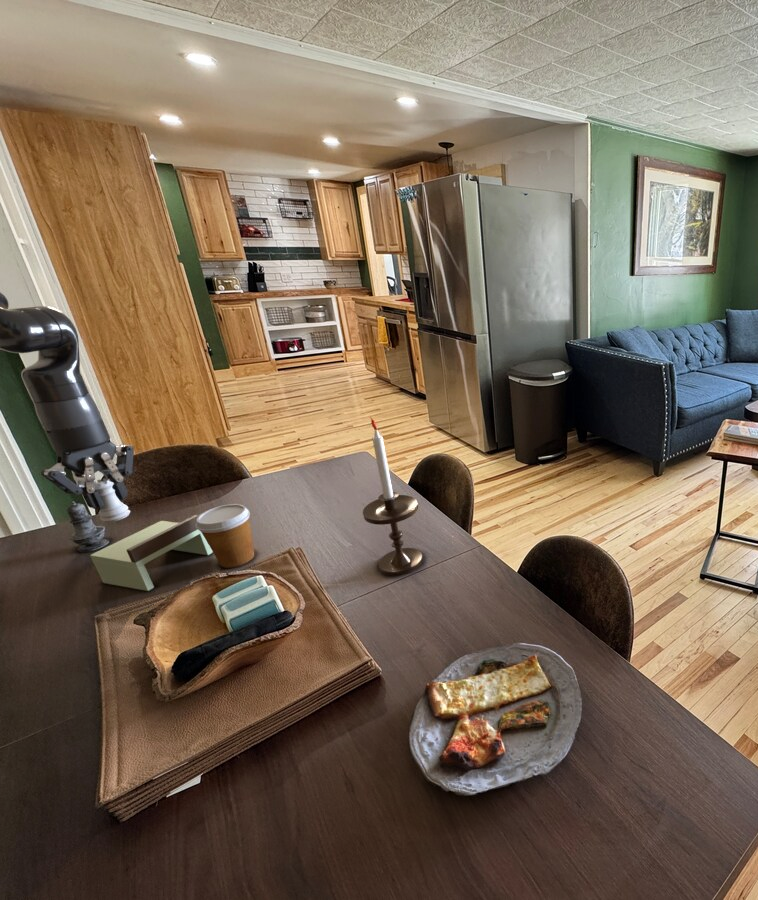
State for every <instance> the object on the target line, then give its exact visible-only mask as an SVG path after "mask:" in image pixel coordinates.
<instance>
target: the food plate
mask: <svg viewBox="0 0 758 900" xmlns="http://www.w3.org/2000/svg"><path fill="white" fill-rule="evenodd" d="M582 710H583V698H582V692H581V689H580V686H579V683H578V679H577V676H576V672H575V670H574V668H573V667H572V666H571V665H570V663H568V662H567V661H566V660H564V658H563V657H562V656H561V655H560V654H557V652H555V651H554V650H552V649H551V648H548V647H545V646H542V645H539V644H534V643H533V644H529V643H524V642H517V641H515V642H509V643H504V644H500V645H496V646H492V647H488V648H484V649H481V650H477V651H474V652H471V653H467V654H465V655H463V656H461V657H459V658H457V659H456V660H454V661H452V662H451V663H450V664H449V665H448V666H446V667H445V668H444V669H443V670H442V671H441V672H440V673H439V674H438V675H436V677H435V678H434V679H432V680H430V681H429V683H426V684H425V688H424V691H423V693H422V694H421V697H420V698H419V699H418V701H417V703H416V704H415V706H414V711H413V713H412V715H411V720H410V725H409V729H408V737H407V738H408V739H407V740H408V742H407V744H408V752H409V755H410V756H411V759H412V761H413V762H414V764H415V765H416V766H417V768H418V769H419V771H420V773H421V775H422V778H423V780H425V781H426V782H428V784H429V785H431V786H434V787H435V790H438V787H439V788H440V789H441V791H444V792H450V791H451V792H453V793H454V795H455V796H460V797H462V796H465V797H467V796H475V795H476V796H478V793H480V794H481V793H485V792H487V791H492V790H496V789H499V788H502V787H507V786H510V785H511V784H514V783H520V782H524V781H525V780H527V779H530V778H533V777H534V776H543V775H547V774H548V773H550V772H551V771H552V770H553V769H555V768H556V766H557V765H559V764H560V763H561V762H562V760H563V759H564V758H565V757H566V756H567V754H568V753H569V751H570V750H571V748H572V747H573V746H572V745H573V743H574V741H575V739H576V737H575V736H576V732H577V731H578V729H579V726H580V723H581V719H582V715H583V714H582Z"/></svg>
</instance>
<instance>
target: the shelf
mask: <svg viewBox="0 0 758 900" xmlns="http://www.w3.org/2000/svg"><path fill="white" fill-rule="evenodd" d="M199 515H200V514H194V515H192V516H190V517H188V518H186V519H184V520H182V521H180V522H173V521H167V520H160V521H157V522H155V523H153V524H151V525H149V526H147V527H145V528H144V529H141V530H139V531H137V532H135V533H132V534H131V535H129V536H126V537H125V538H122V539H121V540H118V541H116V542H114V543H112V544H110V545H108V546H106V547H104V548H102V549H100V550H98V551H96V552H93V553H91V554H90V555H89V557H90V558H91V561H92V562H93V565H94V566H95V568H96V571H97V574H98V575H99V577H100V579H101V581H102V583H103V584H107V585H113V586H119V587H124V588H130V589H135V590H140V591H146V592H150V591H151V590H153V589H154V588H155V585H154V584H153V581H152V579H151V577H150V574H149V573H148V570H147V568H146V566H145V565H146V564H148V563H149V562H152V560H155V559H156V558H158V557H160V556H162V555H164V554H166V553H168V552H169V551H171V550H172V551H178V552H185V553H191V554H198V555H203V556H209V555H211V554H212V553H213V551H212V549H211V548H210V546H209V544H208V543H207V541H206V539H205V538H204V536H203V534H202V532H201V531H199V530H198V529H197V528H196V523H197V517H198V516H199ZM213 554H214V553H213Z"/></svg>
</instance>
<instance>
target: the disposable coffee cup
mask: <svg viewBox="0 0 758 900" xmlns="http://www.w3.org/2000/svg"><path fill="white" fill-rule="evenodd" d="M198 515H199V516H198V517H197V523H196V528H197V529H198V530H199V531H201V532H202V534H203V536H204V538H205V539H206V541H207V543H208V544H209V546H210V548H211V549H212V552H213V555H214V556H215V559H216V560H217V561H218V563H219V566H220V567H222V568H235V567H240V566H242V565H244V564H246V563H248V562H249V561H251V560H252V559H253V558H254V557H255V551H254V544H253V537H252V536H253V535H252V530H251V529H252V528H251V523H250V515H251V511H250V510H249V509H248V508H247V507H246V506H245V505H243V504H240V503H229V504H223V505H219V506H216V507H213V508H210V509H207V510H206V511H204V512H202V513H200V514H198Z"/></svg>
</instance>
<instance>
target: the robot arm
mask: <svg viewBox="0 0 758 900" xmlns="http://www.w3.org/2000/svg"><path fill="white" fill-rule="evenodd" d="M9 307H10V304H9V299H8V298H7V297H6V295H4V293H2V292H1V291H0V350H1V351H4V352H8V353H14V354H29V353H35V352H38V353H37V355H38V356H37V361H35V362H34V363H32V364H31V365H29V366H27V367H25V368H23V370H21V373H20V375H21V379H22V382H23V384H24V386H25V388H26V390H27V393H28V395H29V397H30V399H31V401H32V403H33V406H34V409H35V413H36V416H37V418H38V421H39V422H40V424H41V426H42V429H43V431H44V433H45V435H46V437H47V439H48V442H49V443H50V445H51V447H52V450H53V451H54V452H55V453H56V463H55V464H54V465H53V466H51V467H50V468H49V469H42V470H41V472H40V475H41V476H43V478H45V479H46V480H48V481H49V482H51V483H52V484H53V485H55V486H56V487H57V488H59V490H61V491H63V492H64V493H65V494H70V495H71V494H72V495H76V496H78V495H82V498H83V500H84V501H85V504H86V506H87V507H89V508H90V509H93V510H98V511H100V509H103V508H105V506H104V504H103V502H102V500H101V498H100V495H99V493H98V491H95V485H94V481H96V475H95V474H96V473H97V472H100V473H101V474H102V475H103V477H105V478H107V479H110V481H111V482H113V483H114V484H113V486H112V488H113V489H114V490H115V494H116V496H117V498H118V499H119V500H120V501H124V500H126V499H127V498H128V497H127V496H128V494H129V492H128V490H127V487H126V484H125V483H124V479H125V478H126V477H127V476H131V475H132V474H133V466H134V455H135V454H134V453H135V447H134V446H133V445H127V444H119V445H116V444H115V443H113V442H112V441H111V435H110V434H109V430H108V428H107V427H106V424H105V422H104V419H103V417H102V415H101V411H100V409H99V407H98V405H97V403H96V401H95V400H94V399H93V397H92V396H91V393H90V391H89V389H88V386H87V384H86V382H85V380H84V377H83V375H82V373H81V358H80V344H79V343H80V342H79V334H78V332H77V331H78V330H77V328H76V327H75V325H74V322H73V321H72V320H71V319H70V318H69V316H67V315H66V314H65V313H63V312H62V311H61V310H59V309H57V308H54V307H51V306H46V305H45V306H44V305H38V306H28V307H17V308H16V307H15V308H9ZM115 456H116V462H114V461H113V460H114V458H115ZM115 463H116V464H115ZM65 469H66V470H68V471H71V474H72V478H73V481H72V480H71V479H70V478H68V477H67V472H66V471H65ZM74 481H75V483H74Z"/></svg>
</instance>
